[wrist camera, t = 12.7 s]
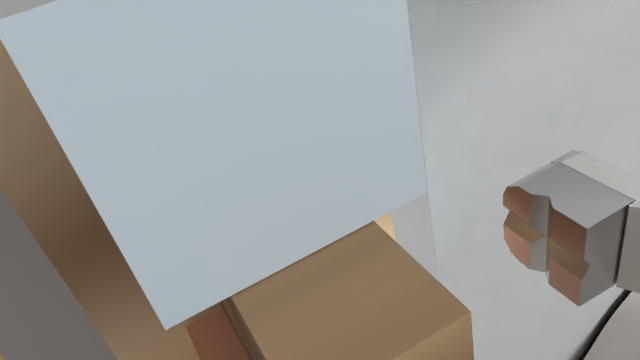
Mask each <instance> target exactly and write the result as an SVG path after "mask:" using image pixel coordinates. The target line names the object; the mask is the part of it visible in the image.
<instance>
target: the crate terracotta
mask: <svg viewBox="0 0 640 360" xmlns="http://www.w3.org/2000/svg"><path fill="white" fill-rule="evenodd" d="M186 328H187V331H188V333H189V335H190V338H191V340H192V342H193V345H194V347H195V349H196V351H197V354H198V356H199V358H200V360H250V359H249V357H248V355H247V353H246V352H245V350H244V348H243V346H242V344H241V342H240V340H239V338H238V336H237V335H236V333H235V331H234V329H233V327H232V325H231V323H230V321H229V319H228V318H227V316H226V314H225V312H224V310H223V308H220V309H218V310H216V311H214V312H213V313H211V314H209V315H207V316H205V317H203V318H201V319H199V320H197V321H196V322H194V323H192V324H190V325H188V326H186Z"/></svg>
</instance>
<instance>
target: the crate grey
mask: <svg viewBox="0 0 640 360" xmlns="http://www.w3.org/2000/svg"><path fill="white" fill-rule="evenodd" d="M0 39H1V41H2V43H3V45H4V46H5V48H6V50H7V52H8V53H9V55H10V57H11V59H12V61H13V62H14V64H15V66H16V68H17V69H18V71H19V73H20V75H21V76H22V78H23V80H24V82H25V83H26V85H27V87H28V89H29V90H30V92H31V94H32V96H33V98H34V99H35V101H36V103H37V105H38V106H39V108H40V110H41V112H42V113H43V115H44V117H45V119H46V120H47V122H48V124H49V126H50V127H51V129H52V131H53V133H54V135H55V136H56V138H57V140H58V142H59V143H60V145H61V147H62V149H63V150H64V152H65V154H66V156H67V157H68V159H69V161H70V163H71V165H72V166H73V168H74V170H75V172H76V173H77V175H78V177H79V179H80V180H81V182H82V184H83V186H84V187H85V189H86V191H87V193H88V194H89V196H90V198H91V200H92V202H93V203H94V205H95V207H96V209H97V210H98V212H99V214H100V216H101V217H102V219H103V221H104V223H105V224H106V226H107V228H108V230H109V231H110V233H111V235H112V237H113V239H114V240H115V242H116V244H117V246H118V247H119V249H120V251H121V253H122V254H123V256H124V258H125V260H126V261H127V263H128V265H129V267H130V269H131V270H132V272H133V274H134V276H135V277H136V279H137V281H138V283H139V284H140V286H141V288H142V290H143V291H144V293H145V295H146V297H147V298H148V300H149V302H150V304H151V306H152V307H153V309H154V311H155V313H156V314H157V316H158V318H159V320H160V321H161V323H162V325H163V327H164V328H165V330H167V329H169V328H171V327H173V326H175V325H177V324H178V323H180V322H182V321H184V320H186V319H188V318H190V317H192V316H194V315H196V314H197V313H199V312H201V311H203V310H205V309H207V308H209V307H211V306H213V305H215V304H216V303H218V302H220V301H222V300H224V299H226V298H228V297H230V296H232V295H234V294H235V293H237V292H239V291H241V290H243V289H245V288H247V287H249V286H251V285H252V284H254V283H256V282H258V281H260V280H262V279H264V278H266V277H268V276H270V275H271V274H273V273H275V272H277V271H279V270H281V269H283V268H285V267H287V266H289V265H290V264H292V263H294V262H296V261H298V260H300V259H302V258H304V257H306V256H308V255H309V254H311V253H313V252H315V251H317V250H319V249H321V248H323V247H325V246H327V245H328V244H330V243H332V242H334V241H336V240H338V239H340V238H342V237H344V236H346V235H347V234H349V233H351V232H353V231H355V230H357V229H359V228H361V227H363V226H364V225H366V224H368V223H370V222H372V221H374V220H376V219H378V218H380V217H382V216H383V215H385V214H387V213H389V212H391V211H393V210H395V209H397V208H399V207H401V206H402V205H404V204H406V203H408V202H410V201H412V200H414V199H416V198H418V197H420V196H421V195H423V194H425V193H427V192H428V190H427V181H426V172H425V163H424V154H423V145H422V136H421V127H420V118H419V109H418V100H417V91H416V82H415V73H414V64H413V55H412V46H411V37H410V28H409V19H408V9H407V0H0Z"/></svg>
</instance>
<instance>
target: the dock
mask: <svg viewBox="0 0 640 360" xmlns="http://www.w3.org/2000/svg"><path fill="white" fill-rule="evenodd" d="M407 9H408V6H407ZM408 19H409V15H408ZM409 28H410V24H409ZM410 37H411V33H410ZM411 46H412V42H411ZM412 55H413V51H412ZM413 64H414V59H413ZM414 73H415V68H414ZM415 82H416V77H415ZM416 91H417V86H416ZM417 100H418V95H417ZM418 109H419V104H418ZM419 118H420V113H419ZM420 127H421V122H420ZM421 136H422V131H421ZM422 145H423V140H422ZM423 154H424V149H423ZM424 163H425V158H424ZM425 172H426V167H425ZM426 181H427V176H426ZM427 190H428V185H427ZM391 215H392V221H393V227H394V233H395V239H396V242H397V243H398V244H399V245H400V246H401V247H402V248H403V249H405V250H406V251H407V252H408V253H409V254H410V255H411V256H412V257H413V258H414V259H415V260H416V261H417V262H418V263H419V264H420V265H422V266H423V267H424V268H425V269H426V270H427V271H428V272H429V273H430V274H431V275H432V276H433V277H434V278H435V279H436V280H438V275H437V266H436V257H435V248H434V239H433V230H432V221H431V212H430V203H429V194H428V192H427V193H425V194H423V195H421V196H420V197H418V198H416V199H414V200H412V201H410V202H408V203H406V204H404V205H402V206H401V207H399V208H397V209H395V210H393V211H391ZM0 359H1V360H117V358H116V357H115V355H114V354H113V352H112V351H111V349H110V348H109V346H108V345H107V343H106V342H105V340H104V339H103V338H102V336H101V335H100V333H99V332H98V330H97V329H96V327H95V326H94V324H93V323H92V321H91V320H90V318H89V317H88V315H87V314H86V313H85V311H84V310H83V308H82V307H81V305H80V304H79V302H78V301H77V299H76V298H75V296H74V295H73V293H72V292H71V291H70V289H69V288H68V286H67V285H66V283H65V282H64V280H63V279H62V277H61V276H60V274H59V273H58V271H57V270H56V268H55V267H54V266H53V264H52V263H51V261H50V260H49V258H48V257H47V255H46V254H45V252H44V251H43V249H42V248H41V246H40V245H39V244H38V242H37V241H36V239H35V238H34V236H33V235H32V233H31V232H30V230H29V229H28V227H27V226H26V224H25V223H24V222H23V220H22V219H21V217H20V216H19V214H18V213H17V211H16V210H15V208H14V207H13V205H12V204H11V202H10V201H9V199H8V198H7V197H6V195H5V194H4V192H3V191H2V189H1V188H0Z"/></svg>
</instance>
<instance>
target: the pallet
mask: <svg viewBox="0 0 640 360" xmlns="http://www.w3.org/2000/svg"><path fill="white" fill-rule="evenodd" d="M0 188H1V189H2V191H3V192H4V194H5V195H6V197H7V198H8V199H9V201H10V202H11V204H12V205H13V207H14V208H15V210H16V211H17V213H18V214H19V216H20V217H21V219H22V220H23V222H24V223H25V224H26V226H27V227H28V229H29V230H30V232H31V233H32V235H33V236H34V238H35V239H36V241H37V242H38V244H39V245H40V246H41V248H42V249H43V251H44V252H45V254H46V255H47V257H48V258H49V260H50V261H51V263H52V264H53V266H54V267H55V268H56V270H57V271H58V273H59V274H60V276H61V277H62V279H63V280H64V282H65V283H66V285H67V286H68V288H69V289H70V291H71V292H72V293H73V295H74V296H75V298H76V299H77V301H78V302H79V304H80V305H81V307H82V308H83V310H84V311H85V313H86V314H87V315H88V317H89V318H90V320H91V321H92V323H93V324H94V326H95V327H96V329H97V330H98V332H99V333H100V335H101V336H102V338H103V339H104V340H105V342H106V343H107V345H108V346H109V348H110V349H111V351H112V352H113V354H114V355H115V357H116V358H117V360H200V358H199V356H198V354H197V351H196V349H195V347H194V345H193V342H192V340H191V338H190V335H189V333H188V331H187V328H186V326H188V325H190V324H192V323H194V322H196V321H197V320H199V319H201V318H203V317H205V316H207V315H209V314H211V313H213V312H214V311H216V310H218V309H220V308H223V310H224V312H225V314H226V316H227V318H228V319H229V321H230V323H231V325H232V327H233V329H234V331H235V333H236V335H237V336H238V338H239V340H240V342H241V344H242V346H243V348H244V350H245V352H246V353H247V355H248V357H249V359H250V360H474V354H473V338H472V323H471V312H470V311H469V310H468V309H467V308H466V307H465V306H464V305H463V304H462V303H461V302H460V301H459V300H458V299H457V298H456V297H455V296H453V295H452V294H451V293H450V292H449V291H448V290H447V289H446V288H445V287H444V286H443V285H442V284H441V283H440V282H439V281H438V280H436V279H435V278H434V277H433V276H432V275H431V274H430V273H429V272H428V271H427V270H426V269H425V268H424V267H423V266H422V265H420V264H419V263H418V262H417V261H416V260H415V259H414V258H413V257H412V256H411V255H410V254H409V253H408V252H407V251H406V250H405V249H403V248H402V247H401V246H400V245H399V244H398V243H397V242H396V239H395V233H394V227H393V221H392V215H391V212H389V213H387V214H385V215H383V216H382V217H380V218H378V219H376V220H374V221H372V222H370V223H368V224H366V225H364V226H363V227H361V228H359V229H357V230H355V231H353V232H351V233H349V234H347V235H346V236H344V237H342V238H340V239H338V240H336V241H334V242H332V243H330V244H328V245H327V246H325V247H323V248H321V249H319V250H317V251H315V252H313V253H311V254H309V255H308V256H306V257H304V258H302V259H300V260H298V261H296V262H294V263H292V264H290V265H289V266H287V267H285V268H283V269H281V270H279V271H277V272H275V273H273V274H271V275H270V276H268V277H266V278H264V279H262V280H260V281H258V282H256V283H254V284H252V285H251V286H249V287H247V288H245V289H243V290H241V291H239V292H237V293H235V294H234V295H232V296H230V297H228V298H226V299H224V300H222V301H220V302H218V303H216V304H215V305H213V306H211V307H209V308H207V309H205V310H203V311H201V312H199V313H197V314H196V315H194V316H192V317H190V318H188V319H186V320H184V321H182V322H180V323H178V324H177V325H175V326H173V327H171V328H169V329H167V330H165V328H164V327H163V325H162V323H161V321H160V320H159V318H158V316H157V314H156V313H155V311H154V309H153V307H152V306H151V304H150V302H149V300H148V298H147V297H146V295H145V293H144V291H143V290H142V288H141V286H140V284H139V283H138V281H137V279H136V277H135V276H134V274H133V272H132V270H131V269H130V267H129V265H128V263H127V261H126V260H125V258H124V256H123V254H122V253H121V251H120V249H119V247H118V246H117V244H116V242H115V240H114V239H113V237H112V235H111V233H110V231H109V230H108V228H107V226H106V224H105V223H104V221H103V219H102V217H101V216H100V214H99V212H98V210H97V209H96V207H95V205H94V203H93V202H92V200H91V198H90V196H89V194H88V193H87V191H86V189H85V187H84V186H83V184H82V182H81V180H80V179H79V177H78V175H77V173H76V172H75V170H74V168H73V166H72V165H71V163H70V161H69V159H68V157H67V156H66V154H65V152H64V150H63V149H62V147H61V145H60V143H59V142H58V140H57V138H56V136H55V135H54V133H53V131H52V129H51V127H50V126H49V124H48V122H47V120H46V119H45V117H44V115H43V113H42V112H41V110H40V108H39V106H38V105H37V103H36V101H35V99H34V98H33V96H32V94H31V92H30V90H29V89H28V87H27V85H26V83H25V82H24V80H23V78H22V76H21V75H20V73H19V71H18V69H17V68H16V66H15V64H14V62H13V61H12V59H11V57H10V55H9V53H8V52H7V50H6V48H5V46H4V45H3V43H2V41H1V39H0Z"/></svg>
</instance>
